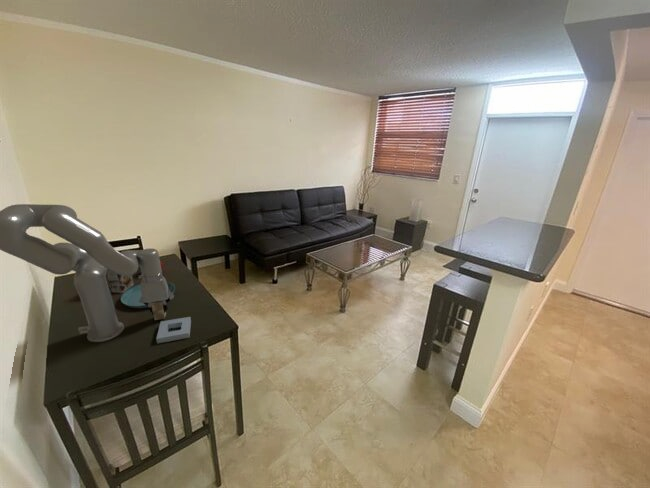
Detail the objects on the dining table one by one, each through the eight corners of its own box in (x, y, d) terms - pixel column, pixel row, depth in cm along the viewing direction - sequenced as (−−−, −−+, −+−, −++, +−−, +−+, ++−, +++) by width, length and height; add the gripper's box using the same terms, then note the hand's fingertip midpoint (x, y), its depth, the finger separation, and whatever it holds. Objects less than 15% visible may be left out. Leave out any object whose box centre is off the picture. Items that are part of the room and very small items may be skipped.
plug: (154, 320, 128) (151, 303, 124) (156, 314, 131) (152, 298, 128) (165, 318, 129) (161, 301, 126) (166, 313, 133) (163, 296, 129)
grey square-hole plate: (157, 343, 115) (156, 338, 114) (161, 326, 126) (160, 321, 125) (189, 337, 119) (188, 332, 119) (191, 321, 130) (190, 316, 129)
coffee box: (123, 293, 149) (116, 265, 144) (111, 292, 149) (104, 265, 144) (134, 284, 158) (128, 258, 152) (123, 284, 158) (116, 258, 152)
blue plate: (117, 296, 147) (115, 290, 146) (167, 282, 163) (166, 277, 162) (128, 317, 131) (126, 311, 130) (182, 299, 147) (181, 293, 146)
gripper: (127, 283, 117) (136, 320, 123) (173, 277, 122) (179, 313, 129) (132, 275, 123) (140, 310, 130) (175, 270, 129) (180, 304, 135)
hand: (159, 311), depth 129 cm, fingers closed on plug, 4 cm apart
